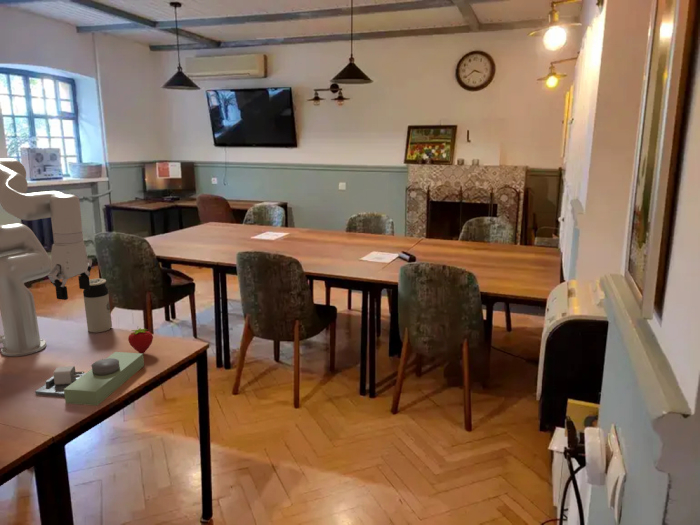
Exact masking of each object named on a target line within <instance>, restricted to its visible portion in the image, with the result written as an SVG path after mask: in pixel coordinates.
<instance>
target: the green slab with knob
mask: <svg viewBox="0 0 700 525" xmlns="http://www.w3.org/2000/svg"><path fill="white" fill-rule="evenodd" d="M144 361H145V360H144V353H143V354H141V353H139V352H123V351H114V352H113V353H112V354H110V355H108V357H106V358H104V359H103V358H102V359H100V360H97V361H94V362H93V363H92V364H91V369H90V370H89V371H86V372H84V373H85V374H84V375H83V376H81V377H80V378H79V379H77V380H76V381H74V382H73V383H72V384H70V385H69V386H68V387H66V388H65V389H64V395H65V397H64V401H65V404H71V405H72V404H74V405H84V404H86V405H85V406H87V405H88V406H99V405H100V404H101V403H102V402H103V401H104V400H106V399H107V398H108V397H110V395H112V394H113V393H114V392H115V391H116V390H118V389H119V388H120V387H121V386H122V385H123V384H124V383H127V381H128V380H129V379H130V378H131V377H132V376H134V375H135V374H136V373H137V372H139V371H140V370H141V369H142V368H143V367H144V366H145V362H144Z"/></svg>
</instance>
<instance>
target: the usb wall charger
mask: <svg viewBox="0 0 700 525" xmlns="http://www.w3.org/2000/svg"><path fill="white" fill-rule="evenodd" d="M84 373H85V371H77V370H76V367H75V365H71V366H58V367H56V369H55V370H54V371H53V372H52V377H53V376H54V383H55V385H61V384H72V383H73V382H74V381H75V379H76V378H78V377H80V375H76V374H84ZM81 376H82V375H81Z"/></svg>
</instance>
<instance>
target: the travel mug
mask: <svg viewBox="0 0 700 525" xmlns="http://www.w3.org/2000/svg"><path fill="white" fill-rule="evenodd" d="M106 282H107V280H106V278H89V283H90V289H89V290H86V289H82V290H83V291H82V295H83V303H84V310H85V319H86V324H87V325H86V326H87V327H86V328H87V332H90V333H94V334H95V333H102V332H106V331H110V330H111V329H112V328H113V322H112V315H111V305H110V298H109V297H110V295H109V289H108V287H107V286H106V284H107V283H106ZM110 328H111V329H110Z"/></svg>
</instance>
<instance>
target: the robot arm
mask: <svg viewBox="0 0 700 525" xmlns="http://www.w3.org/2000/svg"><path fill="white" fill-rule="evenodd" d="M26 178H27V170H26V168H25V166H24V164H23V163H22V162H20V161H19V160H17V159H15V158H10V157H7V158H6V157H4V158H0V205H1V207H2V209H3V211H4V212H6V213H8V214H9V215H11V216H13V217H15V218H17V219H19V220H23V221H35V220H40V219H41V220H42V219H48V218H50V220H51V228H52V229H51V230H52V238H53V244H52V245H51V255H49V254H48V252H47V251H46V248H44V246H43V245H42V243H41V242H40V240H39V238H38V237H37V236H36V234H35V233H34V231H33V230H32V229H31V228H30V227H29V226H28V225H25V224H23V223H17V222H15V223H10V224H9V223H8V224H1V223H0V317H1V324H2V329H3V334H0V344H2V347H1V349H0V352H1V354H2V355H3V356H5V357H21V356H23V357H24V356H27V355H32V354H34V353H37V352H40V351H42V350H43V349H44V348H46V346H47V341H46V340H45V339H42V338H41V337H40V336H41V335H40V331H39V330H40V329H39V324H38V318H37V317H38V316H37V310H36V303H35V297H34V294H33V292H32V291H31V290H30V288H28V287H27V286H26V285H25V283H27V282H28V283H29V282H30V281H34V280H39V279H42V278H45V277H46V276H47V277H48V279H49V280H50V283H51V284H52V285H53V287H55V294H56V299H57V300H60V301H61V300H62V301H63V300H64V301H67V300H68V299H69V297H68V287H67V285H66V284H67V281H68V279H72V278H74V277H76V276H77V277H78V279H77V280H78V287H79V288H78V289H80V290H84V289H86V290H89V289H90V283H89V280H90V276H91V273H90V272H91V270H92V263H93V260H92V259H91V258H88V254H87V249H86V245H85V241H84V236H83V235H84V232H83V225H82V213H81V203H80V198H79V197H78V196H77V195H75V194H70V193H69V194H68V193H64V192H62V191H58V190H49V191H46V190H45V191H38V192H37V191H36V192H29V193H27V191H28V187H29V186H28V181H27V179H26ZM50 256H51V257H50Z"/></svg>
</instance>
